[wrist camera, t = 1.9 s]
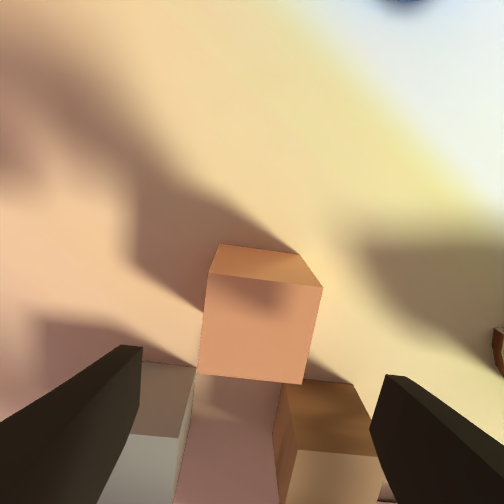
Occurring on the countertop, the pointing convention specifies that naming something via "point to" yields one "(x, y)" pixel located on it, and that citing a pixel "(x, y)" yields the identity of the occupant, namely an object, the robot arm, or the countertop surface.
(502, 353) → the food container
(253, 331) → the terracotta block
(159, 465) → the slate block
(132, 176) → the countertop surface
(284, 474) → the walnut block
